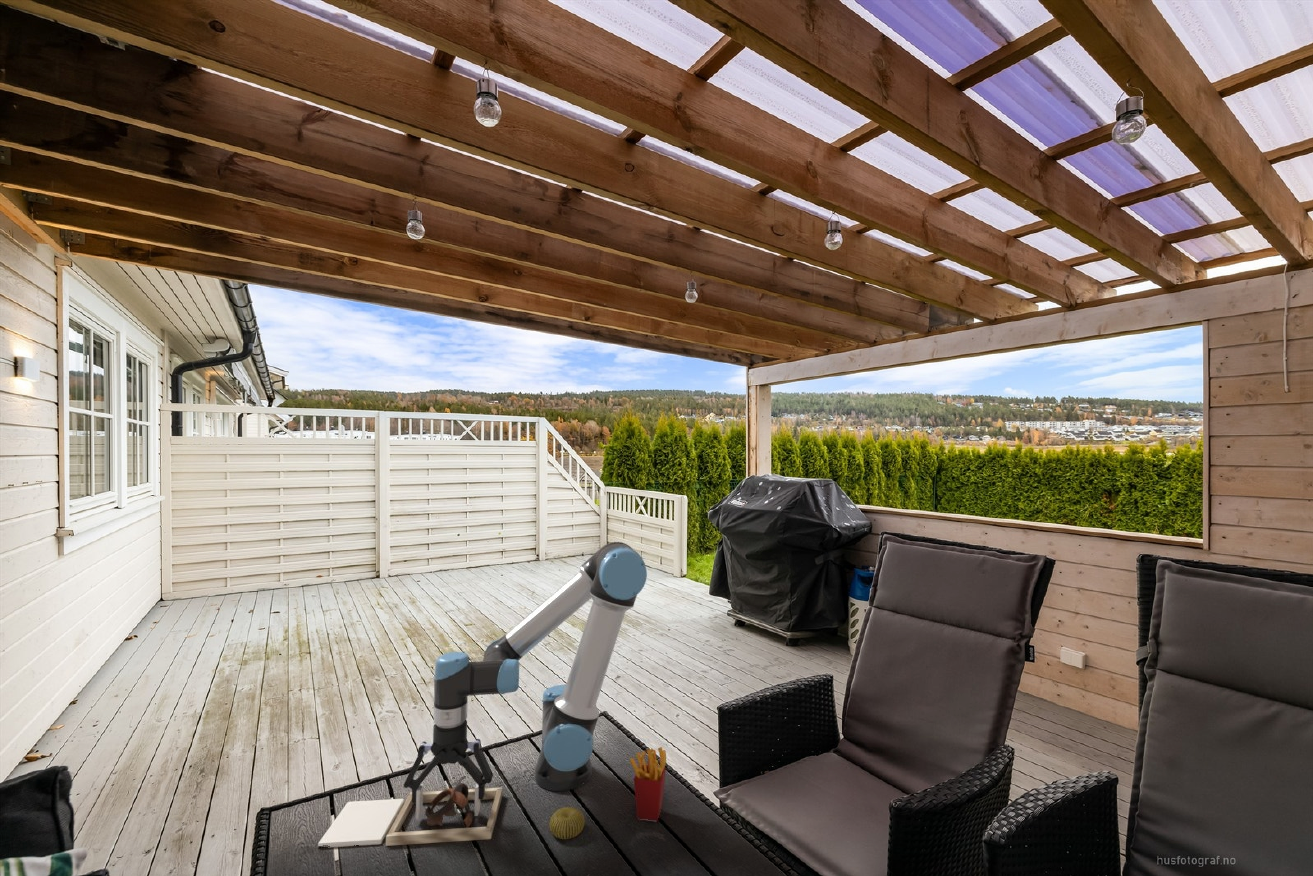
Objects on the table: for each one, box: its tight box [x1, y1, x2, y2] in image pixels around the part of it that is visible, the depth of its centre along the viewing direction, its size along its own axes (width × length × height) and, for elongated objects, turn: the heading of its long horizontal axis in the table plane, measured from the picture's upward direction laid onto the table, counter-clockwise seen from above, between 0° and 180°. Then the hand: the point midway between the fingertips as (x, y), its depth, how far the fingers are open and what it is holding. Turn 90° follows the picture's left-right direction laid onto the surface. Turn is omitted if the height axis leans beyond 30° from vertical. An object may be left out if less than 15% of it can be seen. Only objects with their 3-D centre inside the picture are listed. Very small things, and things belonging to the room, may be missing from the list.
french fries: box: [629, 746, 667, 821], centre depth 136 cm, size 9×8×15 cm
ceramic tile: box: [317, 798, 405, 848], centre depth 130 cm, size 13×15×1 cm
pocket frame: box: [385, 786, 504, 847], centre depth 133 cm, size 22×16×2 cm
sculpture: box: [548, 806, 586, 840], centre depth 129 cm, size 8×4×8 cm
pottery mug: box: [425, 782, 474, 828], centre depth 132 cm, size 12×10×8 cm
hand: (448, 814), depth 133 cm, fingers open, 12 cm apart
